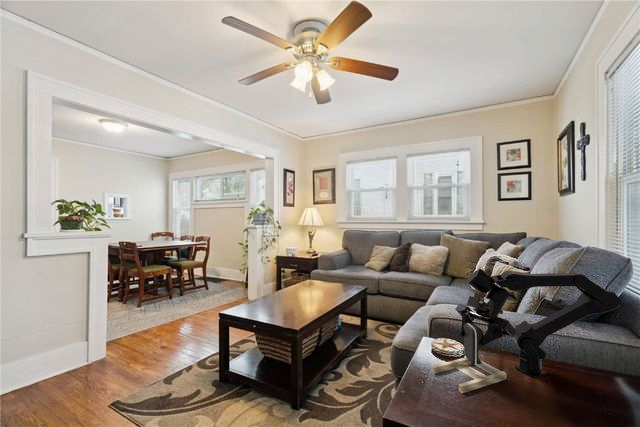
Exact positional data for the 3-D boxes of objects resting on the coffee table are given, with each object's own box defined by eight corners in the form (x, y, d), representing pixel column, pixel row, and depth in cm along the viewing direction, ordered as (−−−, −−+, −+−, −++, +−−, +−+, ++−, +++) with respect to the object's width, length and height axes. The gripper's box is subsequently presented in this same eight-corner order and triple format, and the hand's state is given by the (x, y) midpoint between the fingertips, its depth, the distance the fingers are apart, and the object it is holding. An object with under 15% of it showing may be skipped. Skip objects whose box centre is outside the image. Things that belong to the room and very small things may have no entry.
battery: (485, 365, 93) (485, 329, 93) (473, 365, 93) (473, 329, 93) (474, 355, 100) (474, 321, 100) (463, 355, 100) (463, 321, 100)
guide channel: (472, 361, 105) (472, 355, 105) (506, 379, 94) (506, 373, 94) (431, 372, 98) (431, 366, 98) (461, 393, 87) (461, 386, 87)
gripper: (458, 281, 107) (435, 316, 103) (509, 294, 90) (483, 337, 85) (474, 300, 110) (452, 335, 106) (526, 316, 93) (502, 358, 88)
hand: (470, 340), depth 96 cm, fingers closed on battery, 7 cm apart
